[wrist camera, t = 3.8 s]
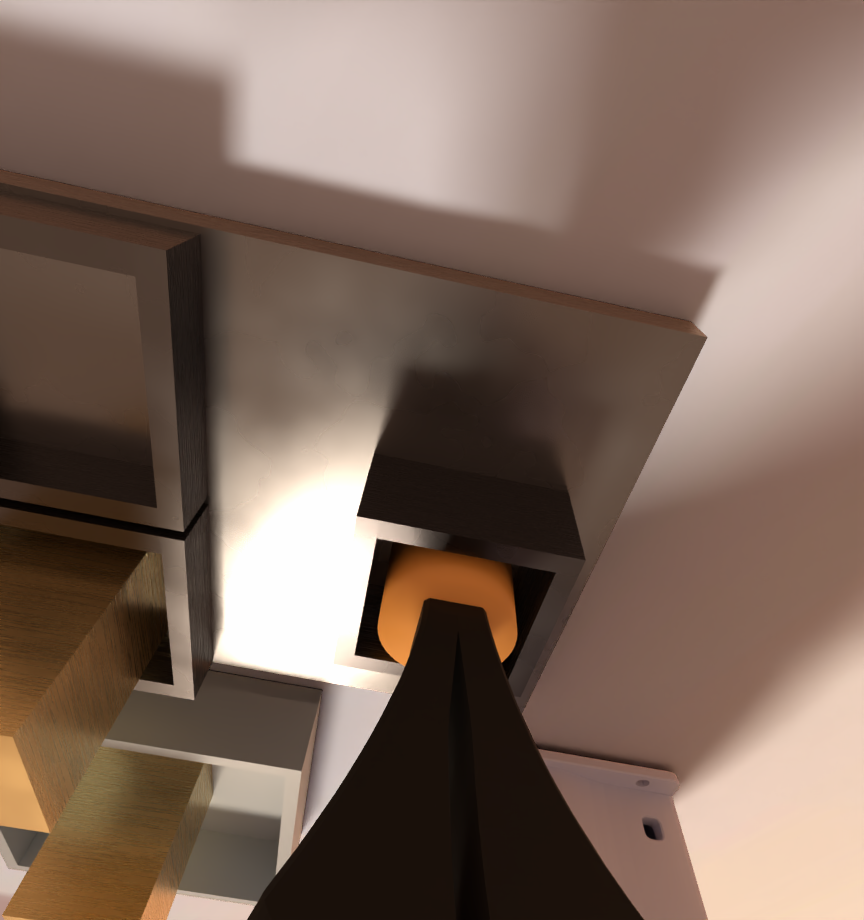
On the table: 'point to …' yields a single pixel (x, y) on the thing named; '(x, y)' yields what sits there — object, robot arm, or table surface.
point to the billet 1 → (67, 660)
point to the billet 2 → (118, 841)
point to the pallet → (310, 425)
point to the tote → (222, 777)
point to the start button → (443, 594)
